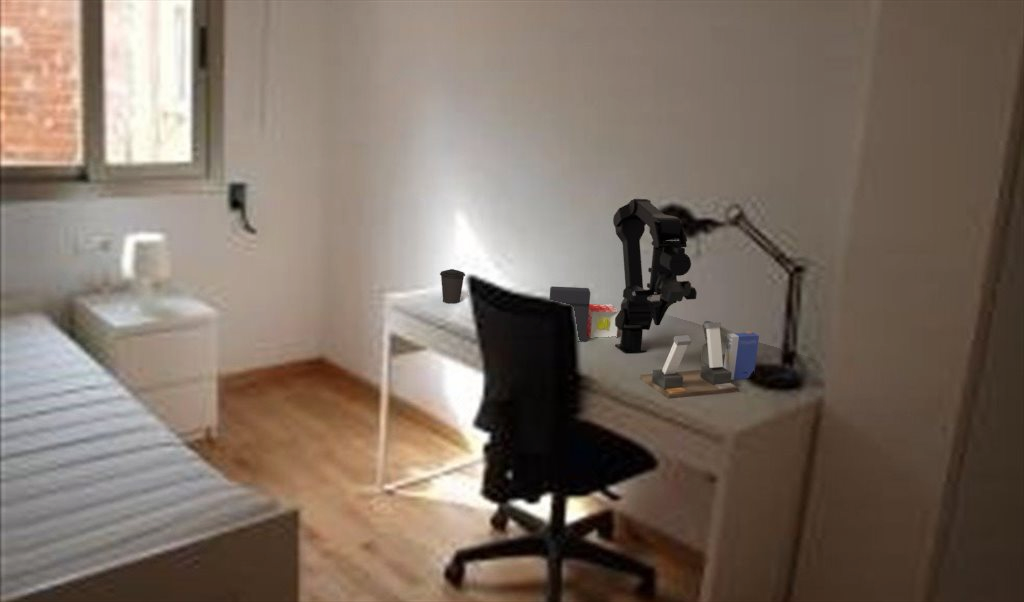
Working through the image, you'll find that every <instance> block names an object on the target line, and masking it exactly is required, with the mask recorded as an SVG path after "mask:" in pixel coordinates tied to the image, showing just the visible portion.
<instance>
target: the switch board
mask: <svg viewBox="0 0 1024 602" xmlns="http://www.w3.org/2000/svg"><path fill="white" fill-rule="evenodd" d="M662 369H663V368H662ZM662 369H652V370H653V371H652V373H648V374H640V376H639V379H640V380H641V381H643V382H644V383H646V384H647V385H649V386H650V387H651V388H652V389H654V390H656V391H657V392H659V393H660V394H662V395H663V396H664V397H666V398H667V399H674V398H676V399H677V398H685V397H696V396H697V397H698V396H704V395H706V396H707V395H716V394H717V395H718V394H727V393H737V392H738V393H739V391H740V388H739V387H738V386H737V385H735V384H733V383H731V374H732V372H730V371H728V370H727V369H725V368H723V367H714V368H710V367H709V365H701V367H700V369H695V370H684V371H683V370H681V371H676V373H675V374H664V373H663V371H662Z"/></svg>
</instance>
